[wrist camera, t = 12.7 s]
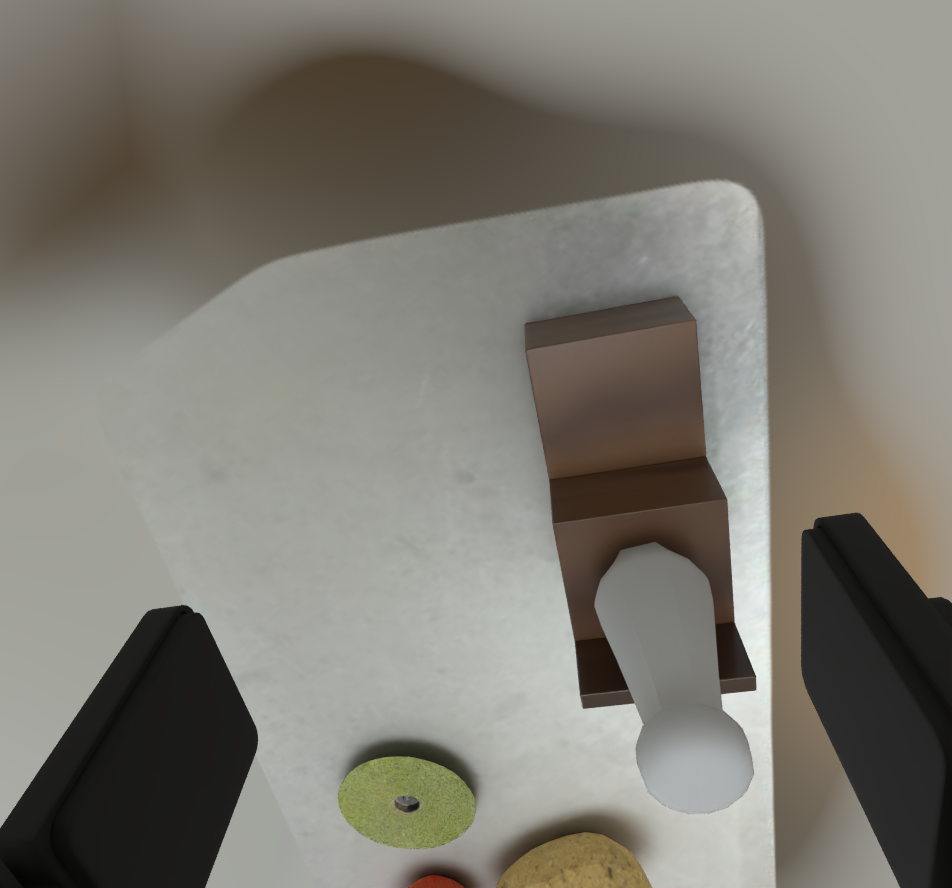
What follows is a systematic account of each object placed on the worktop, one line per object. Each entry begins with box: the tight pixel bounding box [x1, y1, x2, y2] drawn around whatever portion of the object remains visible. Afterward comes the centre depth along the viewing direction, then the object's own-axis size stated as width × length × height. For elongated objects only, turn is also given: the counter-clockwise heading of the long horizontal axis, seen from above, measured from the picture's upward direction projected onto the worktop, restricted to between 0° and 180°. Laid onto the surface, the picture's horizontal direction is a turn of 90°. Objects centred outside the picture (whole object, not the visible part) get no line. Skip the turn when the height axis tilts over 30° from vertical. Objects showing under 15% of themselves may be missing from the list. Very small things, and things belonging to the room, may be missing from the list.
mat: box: [338, 756, 476, 849], centre depth 59 cm, size 11×11×2 cm
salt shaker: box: [594, 542, 754, 814], centre depth 33 cm, size 6×6×13 cm
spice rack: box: [525, 296, 756, 709], centre depth 39 cm, size 17×9×13 cm, turn 12°
